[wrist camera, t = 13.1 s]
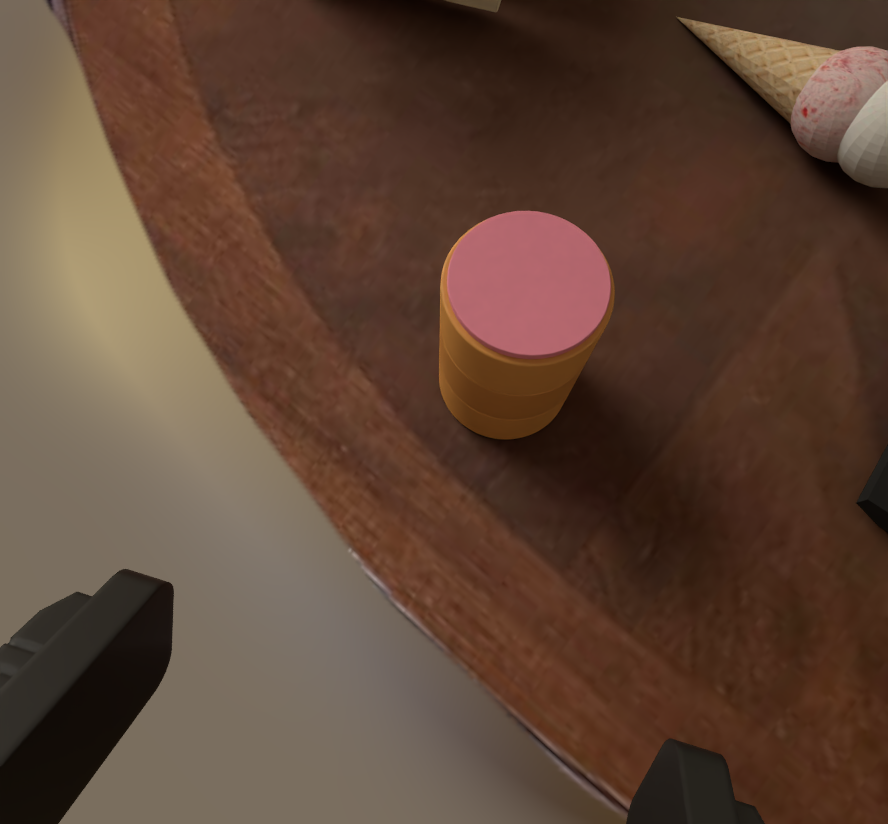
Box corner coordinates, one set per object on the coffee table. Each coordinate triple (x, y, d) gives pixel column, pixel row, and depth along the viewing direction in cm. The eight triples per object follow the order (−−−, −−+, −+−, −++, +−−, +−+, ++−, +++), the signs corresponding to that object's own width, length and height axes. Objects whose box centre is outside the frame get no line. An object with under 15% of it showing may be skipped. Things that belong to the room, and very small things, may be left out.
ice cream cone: (652, 82, 37) (896, 225, 30) (633, 24, 33) (910, 175, 26) (714, 9, 36) (981, 141, 29) (702, -59, 32) (1010, 75, 25)
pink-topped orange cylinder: (423, 419, 27) (418, 334, 20) (459, 306, 29) (468, 187, 21) (550, 455, 27) (597, 383, 19) (580, 339, 29) (633, 229, 21)
